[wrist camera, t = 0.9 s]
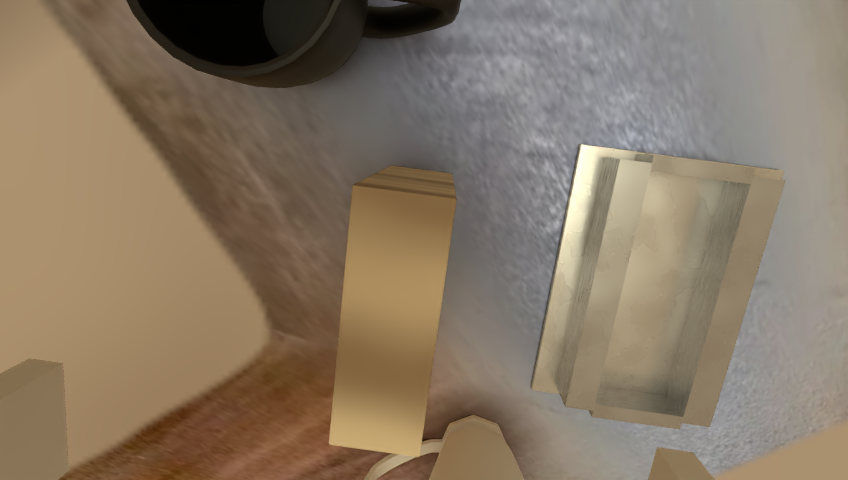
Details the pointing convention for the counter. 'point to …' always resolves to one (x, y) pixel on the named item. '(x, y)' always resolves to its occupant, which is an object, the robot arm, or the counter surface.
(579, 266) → the beige piece
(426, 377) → the wooden block
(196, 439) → the counter surface
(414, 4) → the mug
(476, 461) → the cup
